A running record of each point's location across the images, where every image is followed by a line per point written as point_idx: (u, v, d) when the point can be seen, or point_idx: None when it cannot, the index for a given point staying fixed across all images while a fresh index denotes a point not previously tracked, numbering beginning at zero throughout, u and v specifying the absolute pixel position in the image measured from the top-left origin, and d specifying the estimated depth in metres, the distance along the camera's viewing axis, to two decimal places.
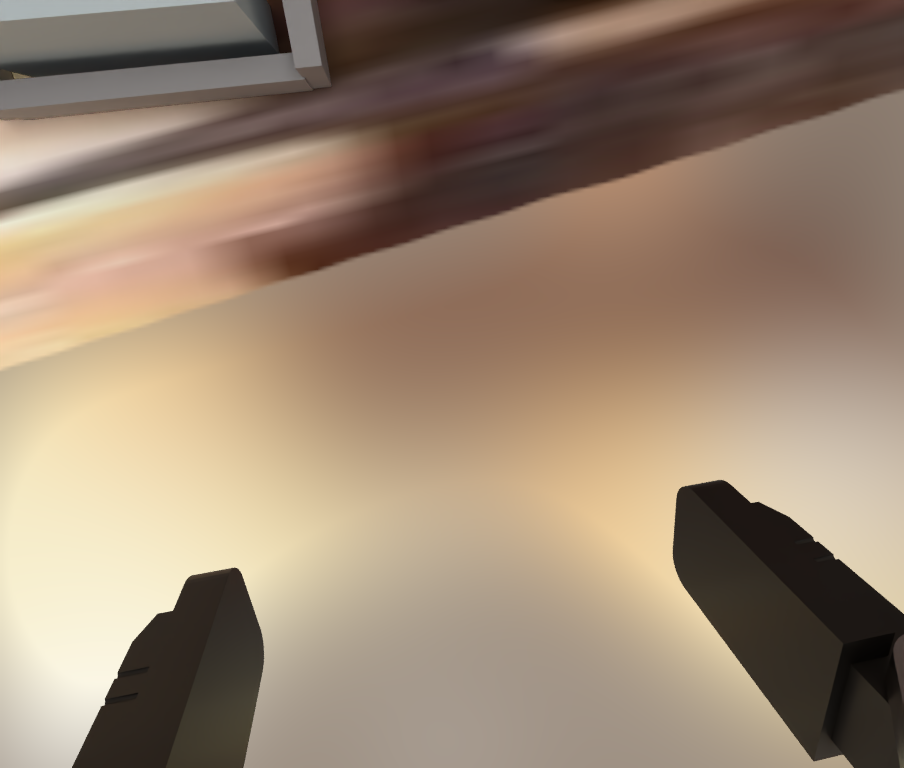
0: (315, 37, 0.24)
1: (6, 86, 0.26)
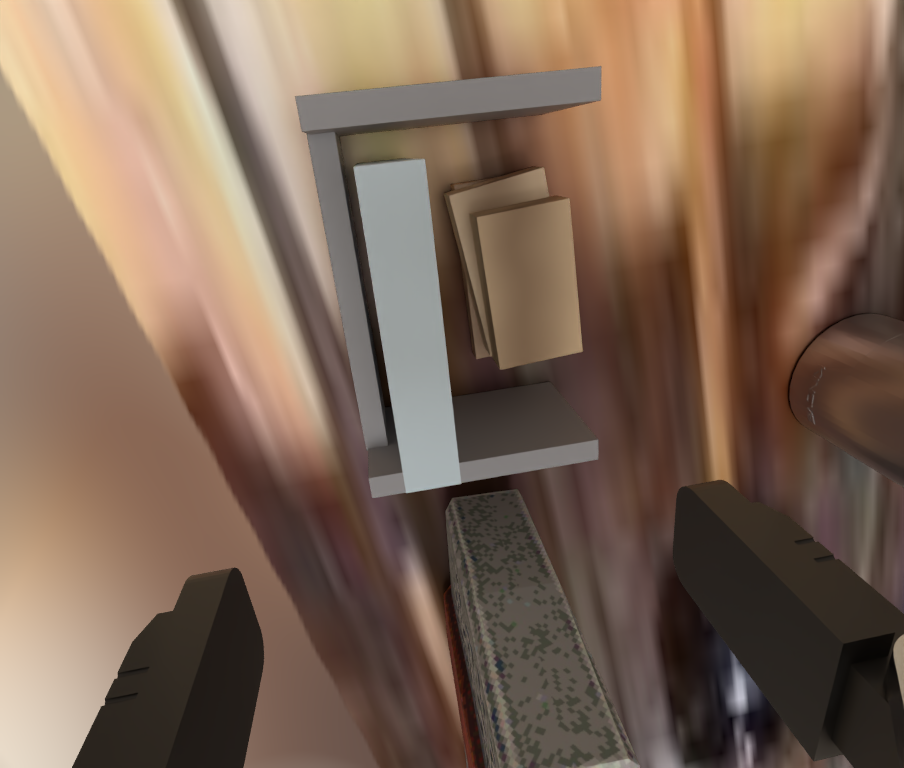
0: (393, 493, 0.28)
1: (337, 182, 0.24)
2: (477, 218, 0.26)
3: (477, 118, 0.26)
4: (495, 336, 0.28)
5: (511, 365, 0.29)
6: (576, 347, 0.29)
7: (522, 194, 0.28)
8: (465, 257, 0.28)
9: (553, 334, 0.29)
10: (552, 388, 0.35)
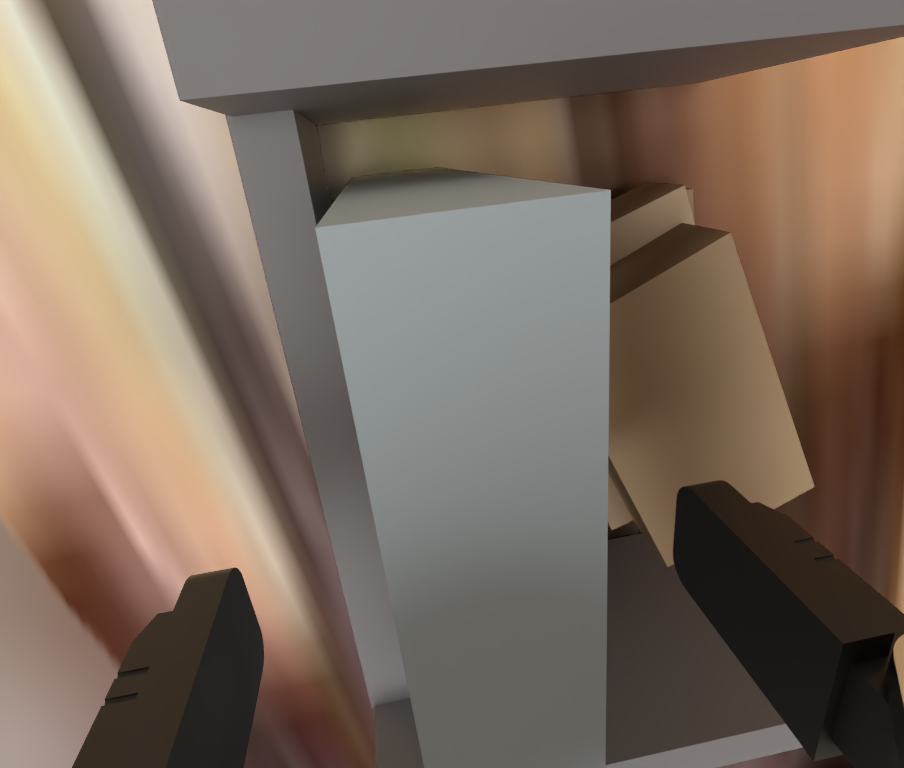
0: None
1: (303, 227, 0.11)
2: None
3: (606, 83, 0.12)
4: (644, 520, 0.15)
5: None
6: (801, 484, 0.15)
7: None
8: None
9: (753, 480, 0.15)
10: None
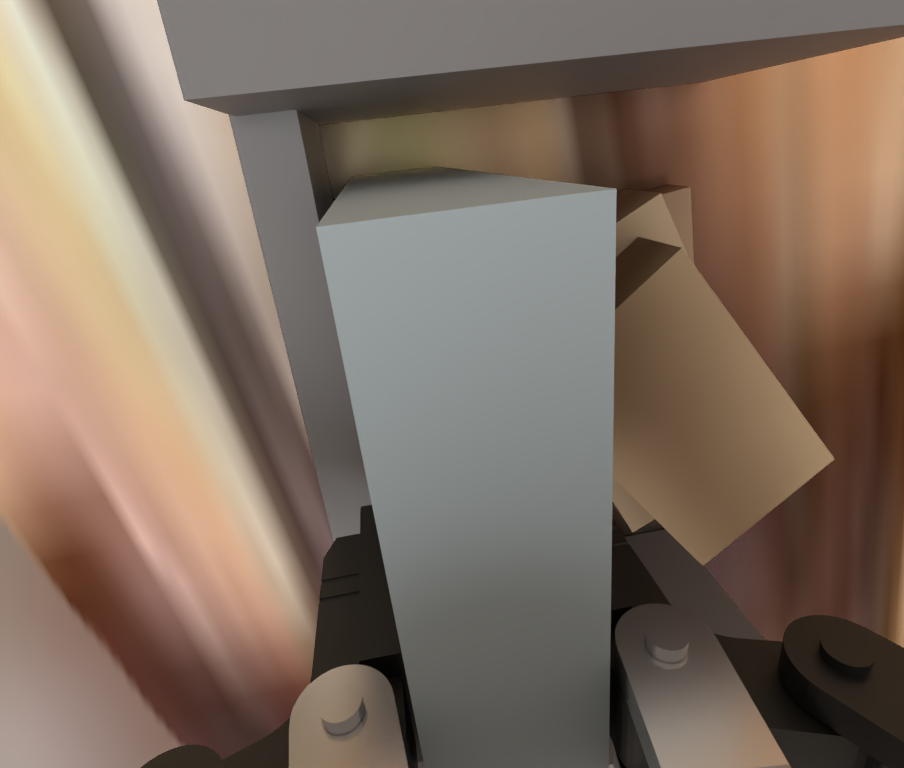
0: None
1: (306, 226, 0.11)
2: None
3: (609, 82, 0.12)
4: (667, 529, 0.15)
5: (718, 549, 0.15)
6: (820, 460, 0.15)
7: None
8: None
9: (768, 468, 0.15)
10: (681, 546, 0.21)
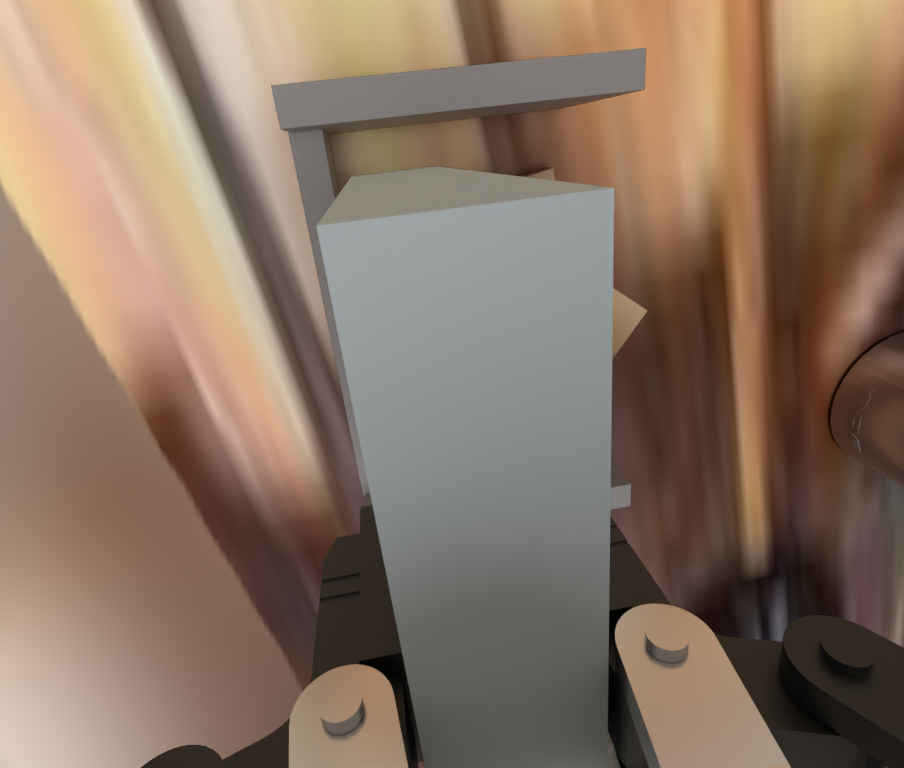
0: None
1: (325, 189, 0.20)
2: None
3: (490, 112, 0.22)
4: None
5: None
6: (638, 313, 0.24)
7: None
8: None
9: None
10: None
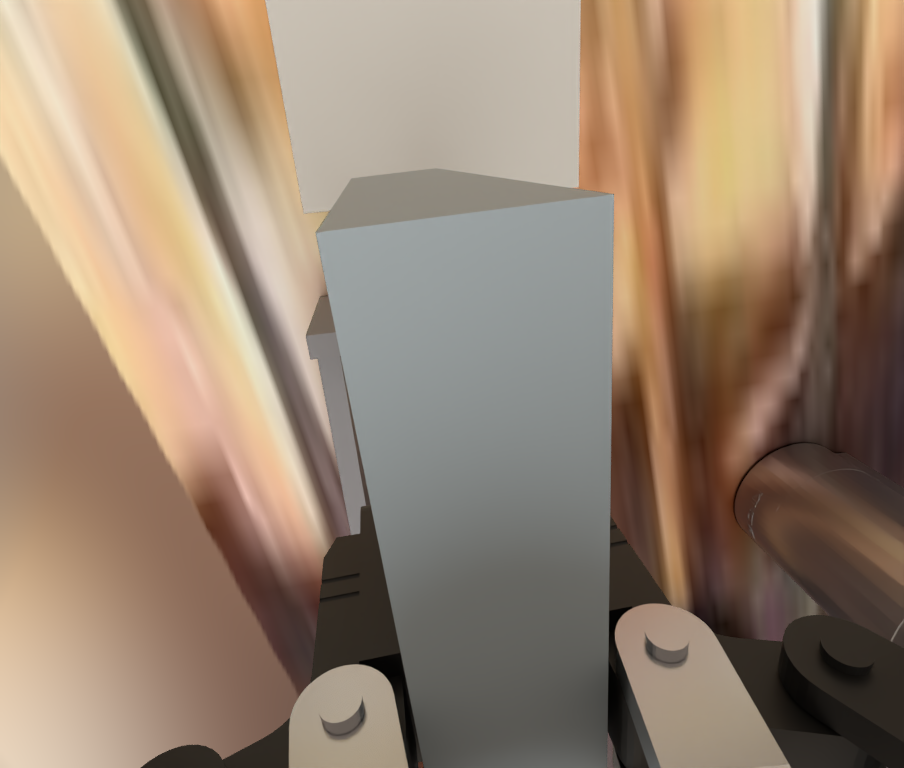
0: None
1: (338, 374, 0.30)
2: None
3: None
4: None
5: None
6: None
7: None
8: None
9: None
10: None
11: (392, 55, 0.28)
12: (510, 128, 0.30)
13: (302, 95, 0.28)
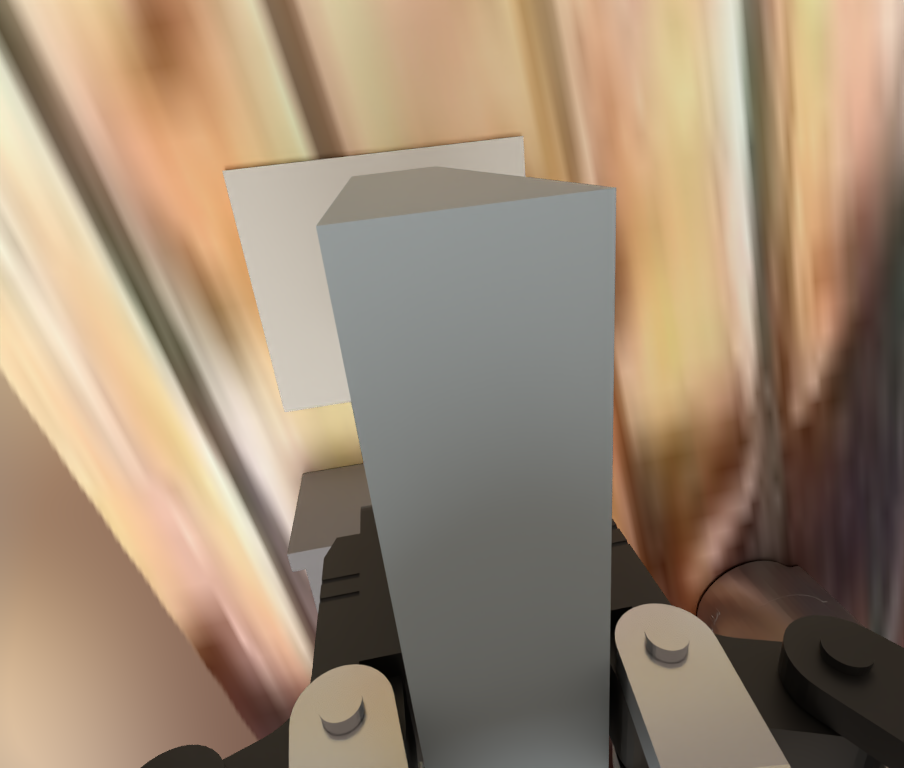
0: None
1: None
2: None
3: None
4: None
5: None
6: None
7: None
8: None
9: None
10: None
11: None
12: None
13: (279, 319, 0.31)
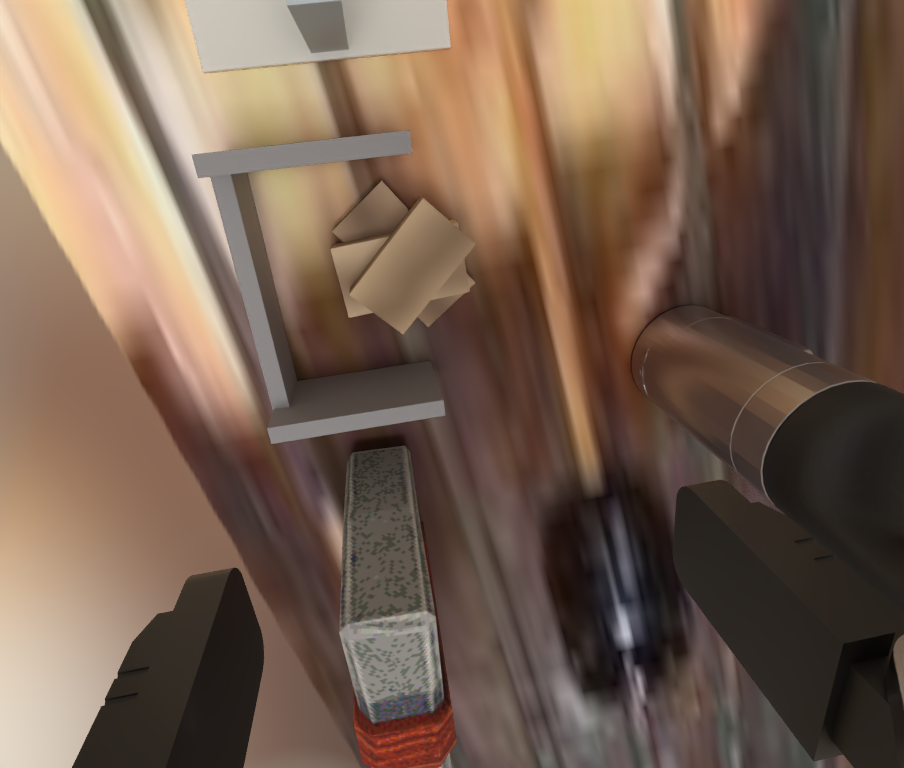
0: (287, 440, 0.37)
1: (235, 210, 0.34)
2: (403, 333, 0.38)
3: None
4: (457, 265, 0.37)
5: (468, 238, 0.36)
6: (423, 205, 0.35)
7: (349, 265, 0.38)
8: None
9: (428, 229, 0.36)
10: (429, 365, 0.44)
11: None
12: None
13: None
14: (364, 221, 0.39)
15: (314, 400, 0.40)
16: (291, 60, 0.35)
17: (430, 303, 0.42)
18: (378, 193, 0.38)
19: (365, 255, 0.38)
